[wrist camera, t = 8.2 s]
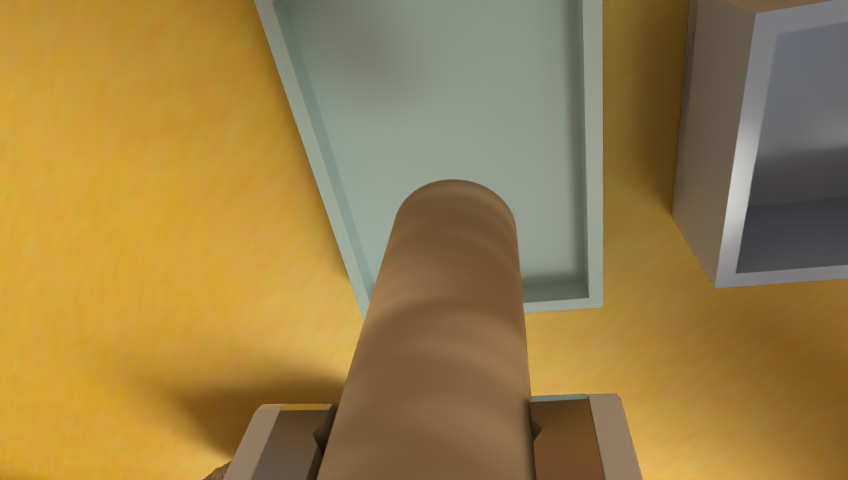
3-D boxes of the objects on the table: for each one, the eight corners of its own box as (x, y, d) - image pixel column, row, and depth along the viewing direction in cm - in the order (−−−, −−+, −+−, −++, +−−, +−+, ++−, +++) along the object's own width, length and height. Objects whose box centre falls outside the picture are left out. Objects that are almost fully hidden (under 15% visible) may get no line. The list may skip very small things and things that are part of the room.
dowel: (511, 171, 13) (549, 605, 5) (521, 278, 15) (560, 719, 7) (381, 186, 14) (226, 591, 6) (406, 286, 16) (318, 698, 8)
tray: (589, -93, 16) (602, -93, 14) (594, 277, 24) (603, 307, 22) (272, -22, 18) (248, -15, 16) (373, 295, 26) (365, 324, 24)
